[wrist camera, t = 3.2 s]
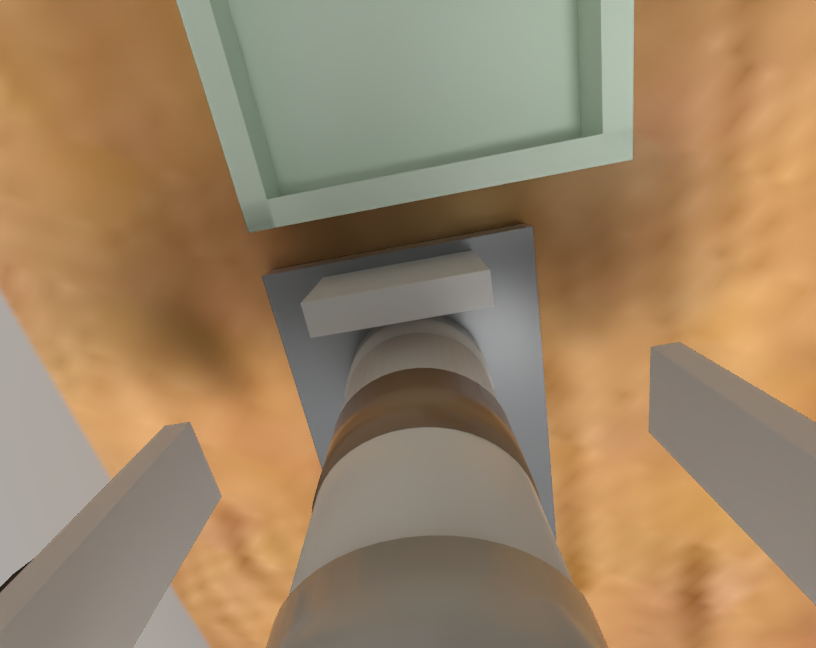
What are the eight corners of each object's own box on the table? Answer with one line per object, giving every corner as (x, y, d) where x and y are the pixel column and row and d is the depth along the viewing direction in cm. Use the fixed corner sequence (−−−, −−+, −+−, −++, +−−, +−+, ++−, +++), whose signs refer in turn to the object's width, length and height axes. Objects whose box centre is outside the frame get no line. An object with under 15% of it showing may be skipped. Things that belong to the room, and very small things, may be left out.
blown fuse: (337, 324, 14) (134, 747, 4) (475, 299, 14) (693, 683, 3) (367, 438, 15) (286, 961, 5) (491, 419, 15) (670, 931, 5)
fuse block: (271, 269, 14) (222, 302, 10) (524, 223, 14) (568, 239, 10) (375, 614, 20) (368, 713, 16) (554, 591, 20) (588, 688, 16)
